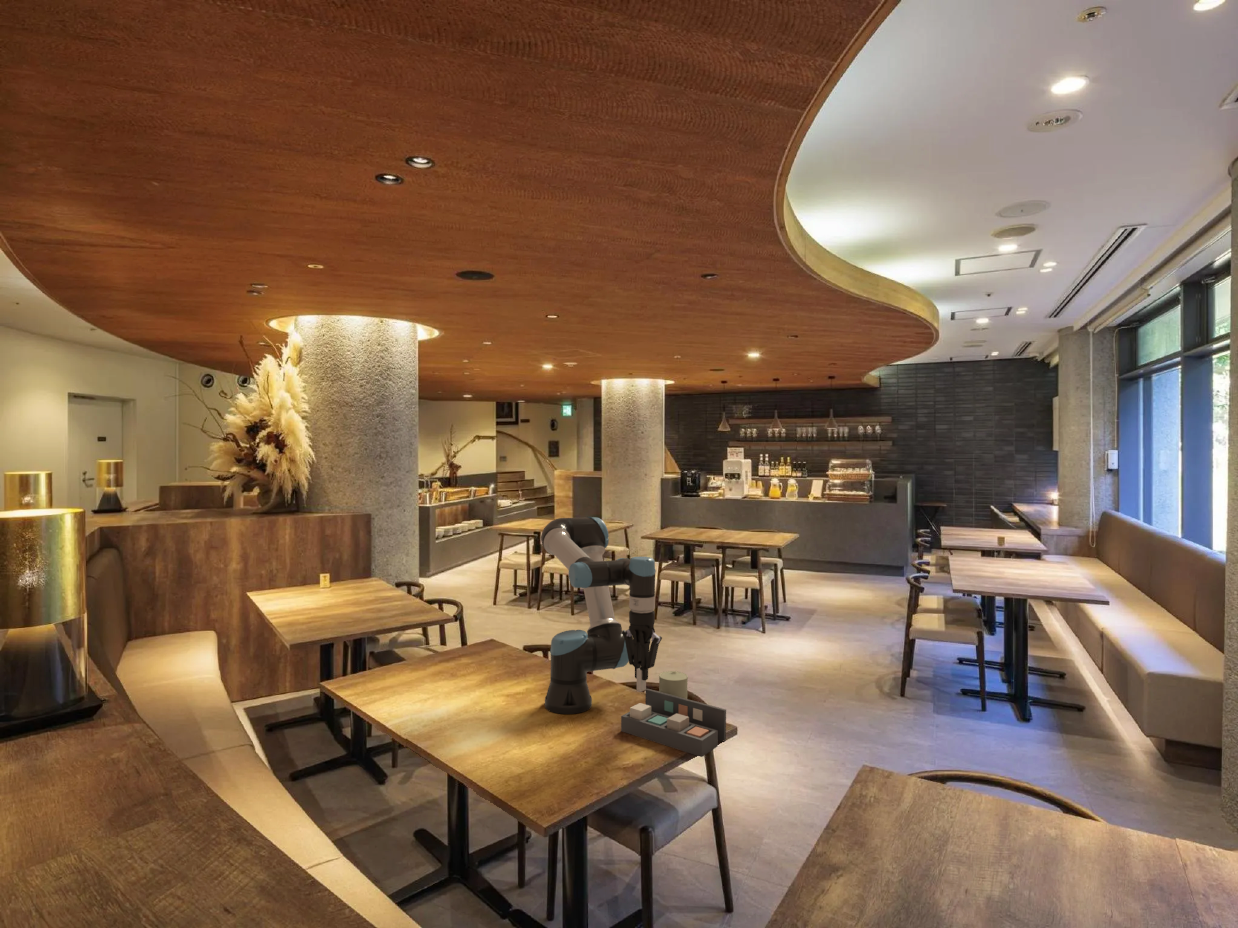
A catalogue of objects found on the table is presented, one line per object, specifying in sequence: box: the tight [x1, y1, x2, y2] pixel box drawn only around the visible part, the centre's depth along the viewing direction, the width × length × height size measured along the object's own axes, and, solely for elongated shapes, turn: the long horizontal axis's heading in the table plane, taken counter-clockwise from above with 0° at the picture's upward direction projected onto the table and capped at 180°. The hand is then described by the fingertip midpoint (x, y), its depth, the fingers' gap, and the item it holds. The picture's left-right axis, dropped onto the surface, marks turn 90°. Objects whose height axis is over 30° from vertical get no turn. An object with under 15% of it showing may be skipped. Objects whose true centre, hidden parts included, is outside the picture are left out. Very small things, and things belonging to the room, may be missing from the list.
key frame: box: [620, 711, 719, 758], centre depth 196 cm, size 27×9×4 cm, turn 53°
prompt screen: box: [644, 688, 727, 743], centre depth 202 cm, size 27×1×9 cm, turn 53°
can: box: [658, 670, 689, 699], centre depth 216 cm, size 9×9×12 cm
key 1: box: [629, 702, 651, 720], centre depth 202 cm, size 4×5×4 cm
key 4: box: [687, 727, 709, 738], centre depth 190 cm, size 4×5×4 cm
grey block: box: [667, 713, 689, 732], centre depth 194 cm, size 4×5×4 cm
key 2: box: [648, 715, 667, 726], centre depth 198 cm, size 4×5×4 cm
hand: (641, 690), depth 201 cm, fingers closed
